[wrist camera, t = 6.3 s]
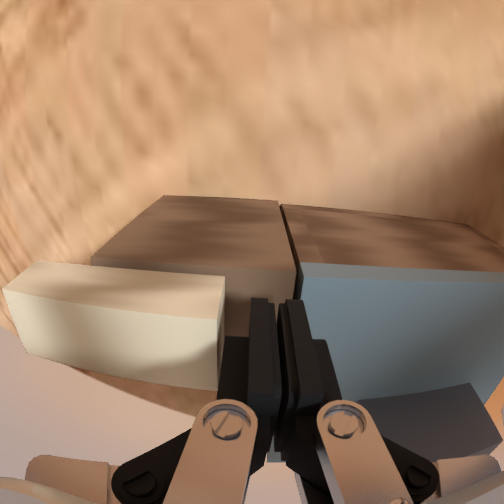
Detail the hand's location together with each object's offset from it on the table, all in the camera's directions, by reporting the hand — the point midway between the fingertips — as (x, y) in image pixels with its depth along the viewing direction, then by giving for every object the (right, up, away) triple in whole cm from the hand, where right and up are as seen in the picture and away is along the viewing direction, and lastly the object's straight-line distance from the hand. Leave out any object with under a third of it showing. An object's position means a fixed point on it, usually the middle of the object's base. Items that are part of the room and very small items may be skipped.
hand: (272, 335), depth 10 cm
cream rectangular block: (-6, +1, +1) cm, 6 cm away
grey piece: (+9, -5, +5) cm, 11 cm away
